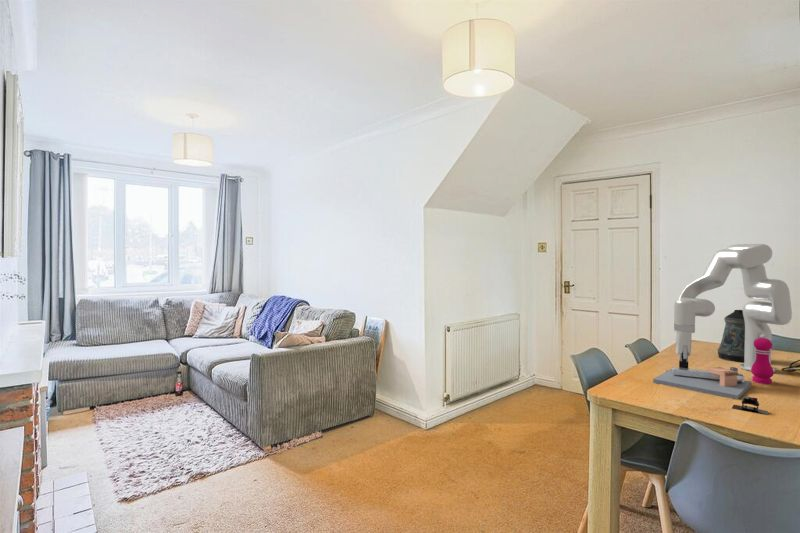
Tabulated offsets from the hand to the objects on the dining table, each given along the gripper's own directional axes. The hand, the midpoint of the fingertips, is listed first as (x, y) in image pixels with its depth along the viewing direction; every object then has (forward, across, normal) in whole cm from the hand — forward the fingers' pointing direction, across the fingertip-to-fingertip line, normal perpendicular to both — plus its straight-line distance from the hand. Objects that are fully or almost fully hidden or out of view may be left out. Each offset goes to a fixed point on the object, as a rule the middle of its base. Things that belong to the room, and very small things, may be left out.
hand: (683, 370), depth 186 cm
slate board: (+3, +8, +6) cm, 10 cm away
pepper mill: (+3, -8, +28) cm, 29 cm away
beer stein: (+4, -54, +28) cm, 61 cm away
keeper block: (+3, +9, +12) cm, 15 cm away
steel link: (+1, +3, +8) cm, 9 cm away
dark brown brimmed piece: (+4, +36, +16) cm, 39 cm away
